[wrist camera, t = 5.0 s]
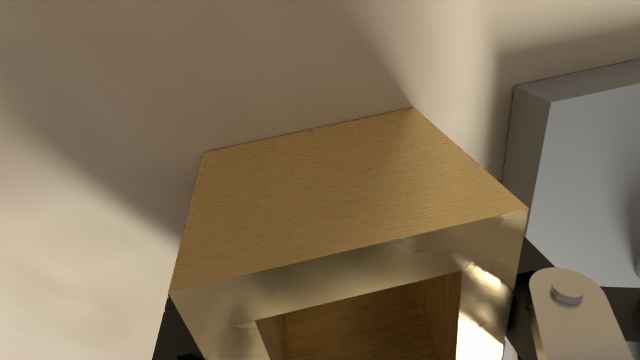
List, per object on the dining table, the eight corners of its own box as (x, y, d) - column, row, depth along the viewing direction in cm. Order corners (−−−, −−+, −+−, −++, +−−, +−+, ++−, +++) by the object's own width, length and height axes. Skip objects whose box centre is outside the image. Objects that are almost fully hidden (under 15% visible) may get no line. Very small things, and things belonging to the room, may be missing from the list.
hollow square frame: (257, 298, 13) (260, 458, 9) (203, 152, 10) (168, 292, 6) (417, 260, 13) (493, 397, 9) (414, 107, 10) (528, 208, 6)
